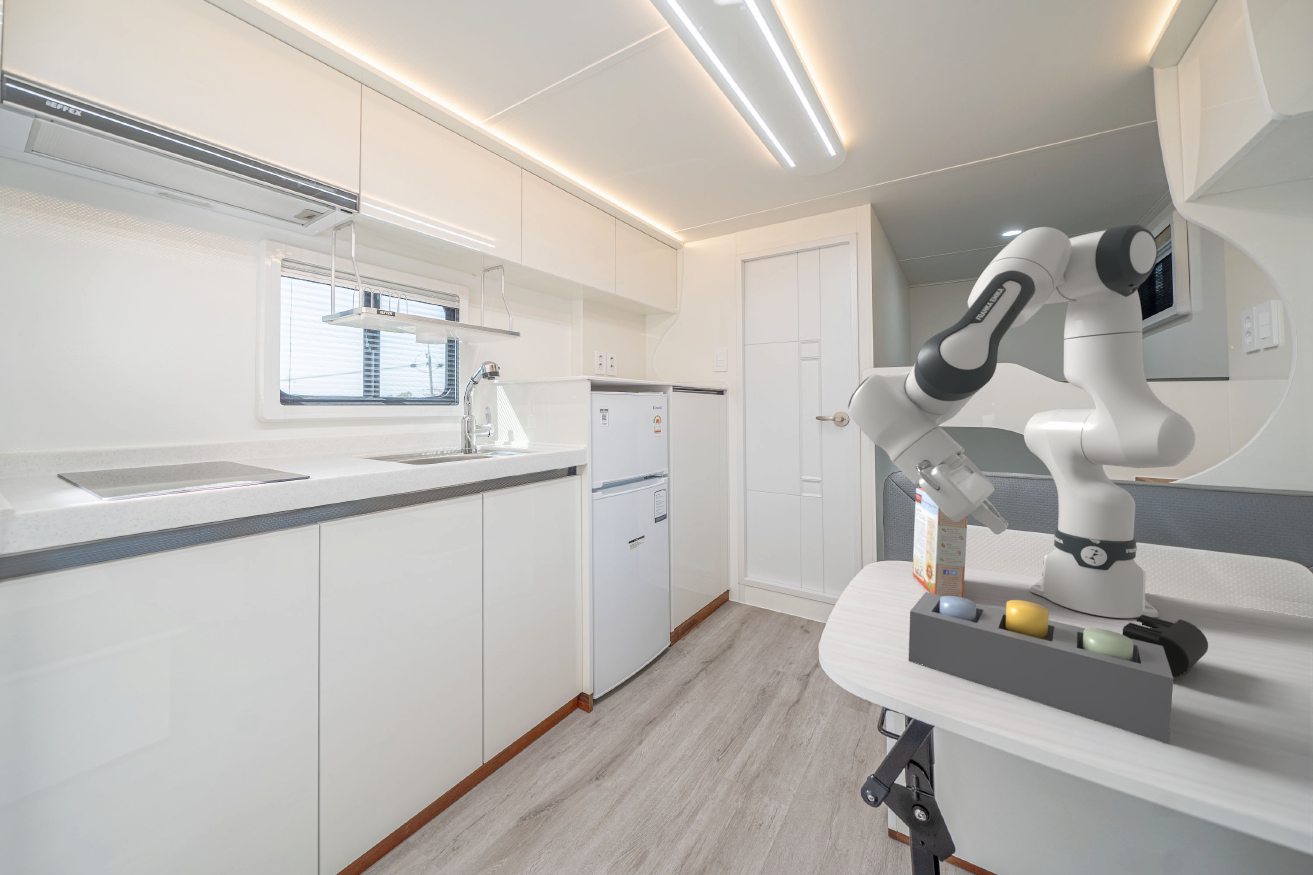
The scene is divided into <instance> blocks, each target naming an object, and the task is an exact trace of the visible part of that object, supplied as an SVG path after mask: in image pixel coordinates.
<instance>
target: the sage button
mask: <svg viewBox="0 0 1313 875" xmlns="http://www.w3.org/2000/svg"><path fill="white" fill-rule="evenodd" d="M1083 650H1087V651H1091V652H1095V653H1099V654H1103V655H1107V656H1111V657H1115V658H1119V659H1123V660H1127V661H1131V662H1132V658H1133V641H1132V640H1131V639H1130V638H1128V637H1126V636H1124V635H1122V634H1121V633H1118V632H1116V631H1112V630H1110V629H1109V630H1108V629H1104V628H1097V627H1090V628H1086V629H1084V632H1083Z"/></svg>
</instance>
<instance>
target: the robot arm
mask: <svg viewBox="0 0 1313 875" xmlns="http://www.w3.org/2000/svg"><path fill="white" fill-rule="evenodd" d="M1153 234H1154V233H1152V232H1151V231H1150V230H1148V229H1147V228H1146V227H1144V226H1143V225H1141V224H1125V225H1119V226H1112V227H1109V228H1107V229H1106V230H1100V231H1095V232H1090V233H1086V234H1082V235H1078V236H1077V235H1076V236H1074V237H1069V236H1068V235H1066V233H1064V232H1063V231H1061V230H1060V229H1057V228H1055V227H1050V226H1049V227H1048V226H1040V227H1034V228H1033V227H1032V228H1030V229H1028V230H1026V231H1024V232H1022V233H1020V234H1018V235H1017V236H1016V237H1015V238H1013V240H1011V241H1010V242H1009V243H1008V244H1007V245H1006V246H1004V247H1003V249H1001V251H1000V252H998V254H997V255H996V256H995V257H994V258H993V259H992V260H991V261H990V262H989V264H988V265H987V266H986V267H985V269H984V270H983V271H982V273H981V274H980V276H979V277H978V279H977V280H976V282H975V284H974V286H973V288H972V290H971V291H970V294H969V296H968V300H967V307H968V309H967V311H966V312H965V313H964V315H963V316H962V317H961V318H960V319H959V320H958V321H957V322H956V323H955V324H954V325H952V326H949V327H948V328H946V329H944V330H942V331H940V332H938V333H936V334H934V336H932V337H930V338H929V339H928V340H927V341H926V342H924V344H923V345H922V347H921V348H920V351H919V353H918V354H917V355H918V356H917V358H916V360H915V363H914V365H913V366H912V368H911V370H909V371H905V372H901V373H896V374H891V375H890V374H888V375H880V374H871V375H870V376H868V377H866V378H865V379H864V380H863V381H862V382H861V383H860V384H859V385H858V386H857V387H856V388H855V390H854V392H853V393H852V394H851V397H850V400H849V402H848V406H847V411H848V414H849V416H850V417H851V418H852V420H853V422H855V424H856V425H857V427H858V428H860V430H861V431H862V432H863V433H864V435H866V436H867V438H868V439H869V440H870V441H871V442H872V443H873V444H875V446H877V447H879V448H881V449H883V451H884V452H885V453H886V454H887V455H888V457H889V459H890V461H891V462H892V463H893V464H894V465H895V466H896V467H897V468H898V470H900V472H902V473H903V475H905V477H907V479H909V481H911V483H912V484H913V485H915V486H916V485H917V484H919V486H920V488H922V489H923V490H924V491H925V493H926V494H927V495H928V496H929V497H930V498H931V499H932V500H933V502H934V503H935V504H936V505H937V506H938V507H939V508H940V509H941V510H942V511H943V512H944V514H945V515H946V516H948V517H949V518H950V519H951V520H953V521H955V522H959V521H960V520H962V519H963V518H965V517H966V516H967V517H969V515H971V516H972V517H973V518H974V519H975V520H977V521H978V522H979V523H981V524H983V525H984V526H986V527H987V528H988V529H990V531H991V532H993V534H995V535H1000V534H1002V533H1003V532H1005V531H1006V530H1007V528H1008V527H1009V522H1008V521H1007V520H1006V519H1005V518H1004V517H1002V515H1001V514H1000V513H999V511H998V510H997V508H996V507H995V506H994V505H993V503H991V501H990V500H988V498H989V496H991V495H992V494H993V492H994V491H995V490H996V489H995V486H994V485H993V484H992V482H991V481H990V480H989V478H988V477H986V476H985V474H984V473H983V472H982V471H981V469H979V468H978V467H977V465H975V464H974V462H973V461H972V460H971V459H970V458H969V457H968V456H966V455H965V454H964V452H965V448H964V447H963V446H961V444H959V442H957V441H955V439H953V438H952V437H951V436H950V435H949V434H948V433H947V432H946V431H945V430H944V429H943V428H942V427H941V426H939V425H941V424H943V423H946V422H947V421H949V420H951V419H953V418H954V417H955V416H957V414H959V413H960V411H962V409H963V408H964V407H966V405H967V404H968V403H969V401H970V400H971V399H972V398H973V397H974V396H975V395H976V394H977V393H978V392H979V391H980V390H981V389H982V388H984V386H986V384H987V385H988V383H989V382H990V380H992V378H993V377H994V375H995V373H996V370H997V364H998V353H999V346H1000V342H1001V341H1002V339H1003V338H1004V337H1005V335H1006V333H1007V332H1008V331H1009V329H1013V328H1019V327H1020V326H1023V325H1024V324H1025V323H1026V322H1028V321H1029V320H1030V319H1031V318H1032V317H1033V316H1034V315H1035V314H1037V312H1038V311H1039V310H1041V309H1042V307H1043V306H1044V305H1046V304H1047V305H1050V304H1058V303H1068V305H1067V310H1066V314H1065V320H1064V328H1063V330H1064V331H1063V376H1064V379H1066V381H1067V382H1068V383H1069V384H1070V385H1072V386H1074V387H1076V388H1077V389H1081V390H1083V391H1085V392H1086V393H1088V394H1089V396H1090V397H1091V399H1092V400H1093V402H1094V405H1095V407H1090V408H1087V407H1085V408H1084V407H1082V408H1081V407H1080V408H1079V407H1077V408H1076V407H1074V408H1073V407H1072V408H1071V407H1066V408H1065V407H1063V408H1057V409H1056V408H1054V409H1049V410H1045V411H1040V412H1036V413H1034V414H1033V416H1031V417H1030V418H1029V419H1028V421H1027V423H1026V424H1025V426H1024V430H1023V438H1024V442H1025V445H1026V447H1027V448H1028V449H1029V451H1030V452H1031V453H1032V454H1034V455H1035V456H1036V457H1038V458H1039V459H1040V461H1042V462H1043V463H1044V465H1045V466H1046V468H1047V469H1048V470H1049V472H1050V475H1051V476H1052V478H1053V482H1054V484H1055V486H1056V490H1057V497H1058V498H1057V499H1058V500H1057V501H1058V521H1057V523H1058V524H1057V527H1056V528H1055V530H1054V535H1053V540H1054V542H1053V543H1054V544H1053V545H1054V549H1053V550H1052V551H1050V552H1048V553H1047V554H1045V555H1044V557H1043V559H1042V562H1043V571H1042V574H1041V576H1042V578H1041V579H1039V580H1038V581H1037V582H1036V583H1034V584H1033V585H1031V586H1030V592H1031V593H1033V594H1035V595H1039V596H1041V597H1043V598H1045V599H1047V600H1049V601H1051V602H1053V603H1055V604H1057V605H1059V606H1062V607H1065V608H1067V609H1070V610H1074V611H1077V612H1082V613H1084V614H1090V615H1095V616H1100V617H1106V618H1115V619H1133V618H1138V617H1139V616H1141V615H1146V616H1149V617H1153V618H1158V617H1159V611H1158V610H1157V609H1156V608H1155V607H1154V606H1152V604H1151V603H1150V602H1149V601H1147V599H1146V579H1147V578H1146V576H1147V575H1146V571H1145V570H1144V569H1143V568H1142V567H1141V566H1140V565H1139V564H1137V562H1136V561H1135V558H1136V555H1137V550H1138V547H1137V539H1136V538H1134V536H1135V535H1134V534H1135V533H1134V532H1135V516H1136V501H1135V499H1134V498H1133V496H1132V495H1131V494H1130V493H1129V492H1128V491H1127V490H1126V489H1124V488H1123V487H1121V486H1119V485H1117V484H1116V483H1114V482H1113V481H1112V480H1111V479H1109V478H1110V477H1108V476H1107V474H1106V473H1105V469H1104V466H1112V467H1122V468H1123V467H1124V468H1131V469H1132V468H1133V469H1152V468H1153V469H1154V468H1168V467H1175V466H1177V465H1178V464H1180V463H1182V462H1183V461H1185V459H1187V458H1188V457H1189V456H1190V455H1191V452H1193V449H1194V447H1195V444H1196V443H1195V442H1196V433H1195V431H1194V427H1193V426H1192V424H1191V423H1190V421H1188V419H1187V418H1186V417H1184V416H1183V415H1182V414H1180V413H1178V412H1176V411H1175V410H1173V409H1171V408H1170V407H1169V406H1168V405H1166V404H1164V402H1162V401H1161V399H1159V398H1158V396H1157V395H1156V394H1155V393H1154V392H1153V390H1152V389H1151V386H1150V385H1149V383H1148V381H1147V378H1146V376H1145V375H1146V374H1145V371H1144V361H1143V359H1144V358H1143V356H1144V355H1143V314H1142V313H1143V312H1142V306H1141V304H1142V303H1141V300H1140V299H1141V298H1140V295H1139V292H1138V289H1139V288H1140V286H1141V285H1142V284H1143V283H1144V282H1145V281H1146V280H1147V279H1148V277H1149V276H1150V275H1151V273H1152V272H1153V270H1154V268H1155V266H1156V263H1157V260H1158V245H1157V244H1158V243H1157V240H1156V238H1155V236H1154V235H1153Z"/></svg>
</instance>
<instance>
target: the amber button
mask: <svg viewBox="0 0 1313 875" xmlns="http://www.w3.org/2000/svg"><path fill="white" fill-rule="evenodd" d="M1005 606H1006V609H1005V610H1006V628H1007V629H1008V630H1009V631H1011V632H1015V633H1019V634H1023V635H1027V636H1031V637H1035V638H1039V639H1043V638H1046V637H1047V636H1048V620H1049V618H1050V617H1049V616H1050V615H1049V614H1050V612H1049V609H1048V608H1046V606H1043V605H1041V604H1039V603H1035V602H1031V601H1026V600H1021V599H1019V600H1018V599H1012V600H1007V601H1006V605H1005Z"/></svg>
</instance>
